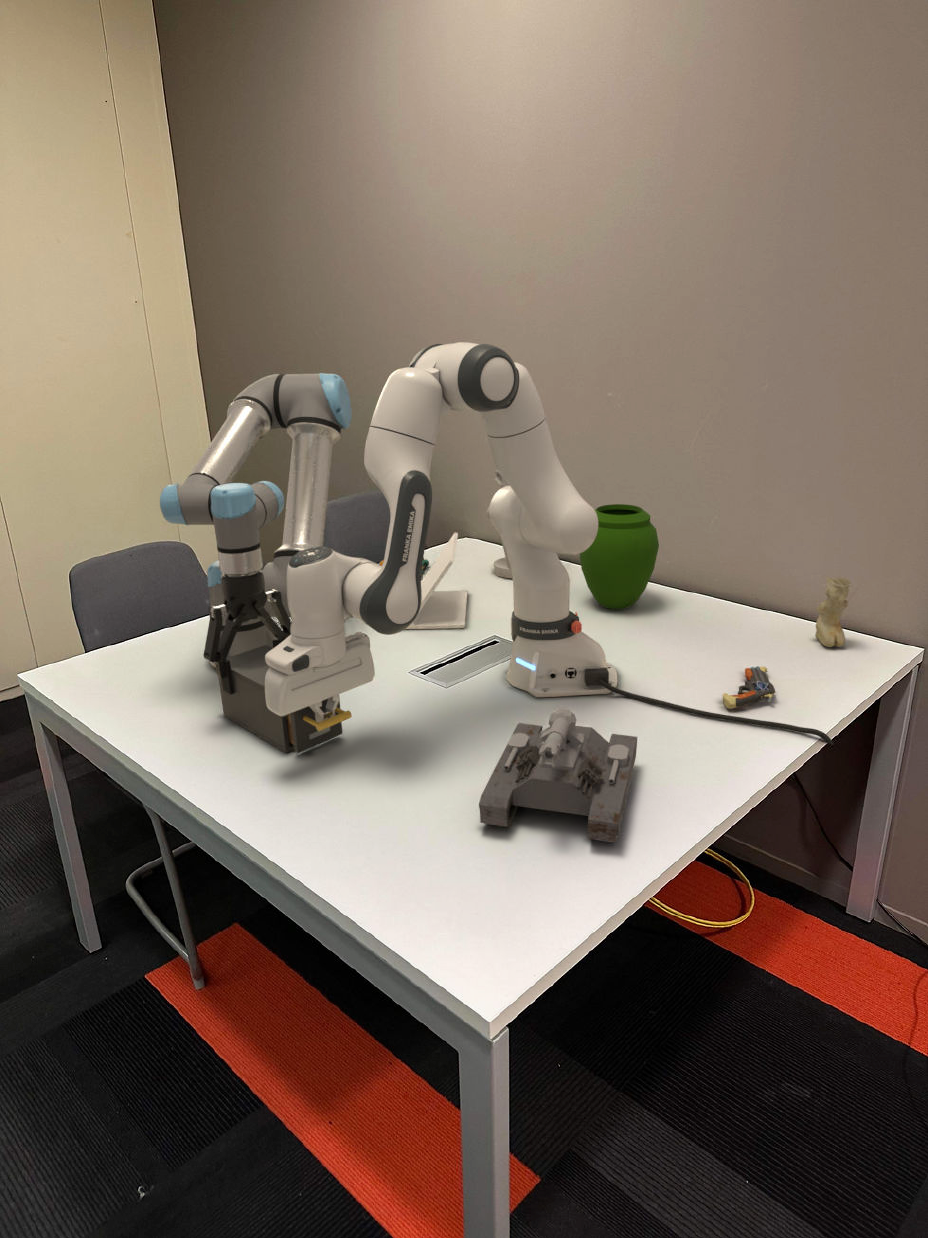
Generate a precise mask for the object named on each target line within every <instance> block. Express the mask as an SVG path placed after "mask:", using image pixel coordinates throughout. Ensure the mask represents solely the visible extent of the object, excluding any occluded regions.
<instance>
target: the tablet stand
mask: <svg viewBox="0 0 928 1238" xmlns="http://www.w3.org/2000/svg"><path fill="white" fill-rule="evenodd" d="M458 537H459V533H458V532H456V531H455V532H453V534H452V535H451V537H450V539H449V540H448V542H447V543H446V544H445V546H444V548H443V549H442V551H441V552H440V554H439V555H438V556H437V558H436V559H435V561H434V562H433V564H432V565H431V567H430V568H429V569H428V571H427V573H426V574H425V575H424V577H423V579H421V591H422V601H421V607H420V610H419V613H418V615H417V617H416V618H415V620H414V621H413V622H412V623H411V624H410V625H409V626H408V627H407V628H406V629H405V630H426V629H427V630H429V629H430V630H431V629H435V630H436V629H437V630H438V629H464V628H465V627H466V618H467V617H466V616H467V605H468V591H467V590H436V589H437V587H438V585H440V582H441V581H442V580H443V578H444V577H445V575H446V574H447V573H448V571H449V570H450V569H451V567H452V566H453V564H454V562H455V558H456V553H457V545H458Z"/></svg>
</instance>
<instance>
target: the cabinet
mask: <svg viewBox="0 0 928 1238" xmlns="http://www.w3.org/2000/svg"><path fill="white" fill-rule="evenodd" d="M272 649H273V648H271V647H269V646H267V645H264V646H261V647H258V648H255V649H252V650H249V651H246V652H243V653H240V654H237V655H234V656H231V657H228V658H226V659H227V660H229V661H230V665H231V673H232V680H233V688H234V694H231V695H230V694H228V693H227V692H225V691H223V686H222V679H221V678H220V677H218V676H217V677H218V678H217V679H218V683H219V684H218V685H219V689H220V690H219V692H220V697H221V704H222V713H223V717H225V718H227V719H228V720H230V721H232V722H233V723H235V724H237V725H238V726H240V727H242V728H244V729H245V730H247V731H248V732H250V733H251V734H253V735H255V736H257V737H258V738H259V739H261V740H263V741H265V742H267V743H268V744H270V745H271V746H273V747H275V748H276V749H277V750H280V751H281V752H283V753H285V754H288V753H291V752H292V751H294V745H293V744H291V743H289V738H288V729H287V720H286V715H285V716H279V715H277V714H275V713H273V712H272V711H270V710H269V709H268V707H267V705H266V698H265V676H266V673H267V671H268V669H269V668H270V666H269V665H267V664H266V661H265V655H266V654H267V653H268V652H269V651H270V650H272Z"/></svg>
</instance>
